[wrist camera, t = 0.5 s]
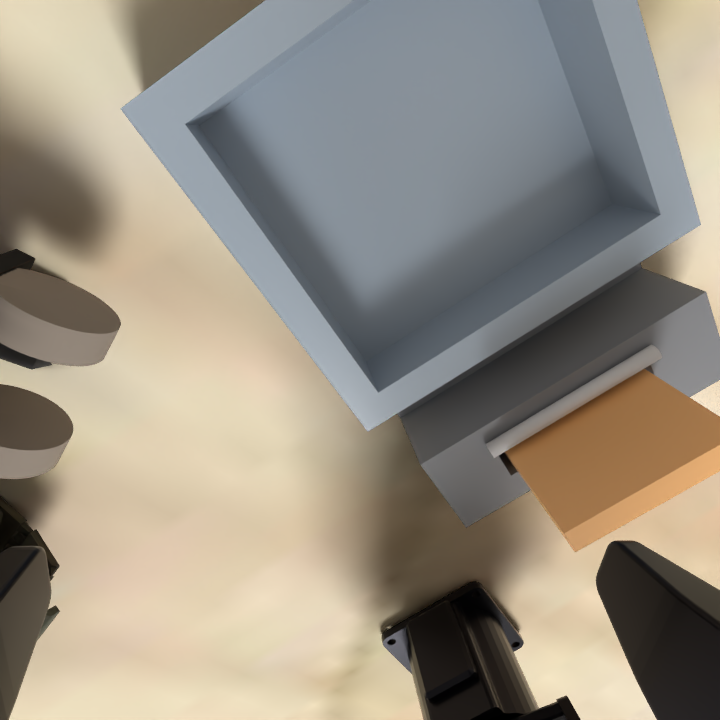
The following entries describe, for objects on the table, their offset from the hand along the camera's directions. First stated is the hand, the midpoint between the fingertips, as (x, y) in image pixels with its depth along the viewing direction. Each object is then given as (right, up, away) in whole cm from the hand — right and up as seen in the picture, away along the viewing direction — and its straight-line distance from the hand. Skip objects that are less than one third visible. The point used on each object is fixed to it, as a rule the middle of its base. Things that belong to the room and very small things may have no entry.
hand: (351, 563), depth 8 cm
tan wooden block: (+8, +2, +15) cm, 17 cm away
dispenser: (+8, +3, +15) cm, 17 cm away
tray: (+2, +10, +11) cm, 15 cm away
